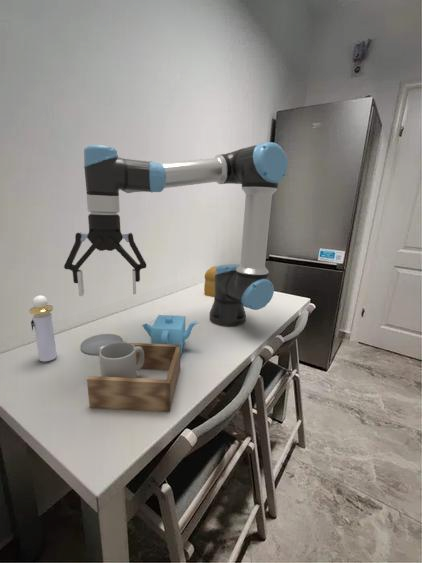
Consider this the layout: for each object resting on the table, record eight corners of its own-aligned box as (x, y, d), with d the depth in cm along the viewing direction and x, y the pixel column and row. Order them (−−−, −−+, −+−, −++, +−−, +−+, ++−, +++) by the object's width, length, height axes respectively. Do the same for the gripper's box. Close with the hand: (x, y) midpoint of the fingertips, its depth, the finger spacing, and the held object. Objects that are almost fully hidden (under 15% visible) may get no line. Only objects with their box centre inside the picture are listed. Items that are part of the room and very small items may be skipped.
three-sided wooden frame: (180, 368, 80) (180, 344, 78) (169, 411, 63) (169, 383, 61) (116, 365, 80) (115, 341, 78) (89, 407, 64) (86, 379, 62)
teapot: (149, 337, 98) (148, 307, 95) (200, 339, 98) (201, 309, 95) (136, 361, 83) (134, 327, 80) (196, 364, 82) (197, 329, 79)
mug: (115, 404, 65) (113, 363, 62) (95, 389, 70) (91, 350, 67) (154, 380, 74) (153, 343, 71) (134, 368, 79) (132, 333, 76)
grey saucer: (128, 336, 98) (128, 334, 97) (114, 356, 85) (114, 353, 85) (91, 335, 98) (91, 333, 98) (72, 354, 85) (72, 351, 85)
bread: (203, 295, 145) (204, 267, 141) (214, 289, 156) (215, 263, 152) (247, 304, 135) (250, 274, 131) (255, 296, 146) (258, 269, 142)
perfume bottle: (61, 353, 86) (54, 291, 80) (56, 363, 80) (47, 298, 75) (41, 355, 84) (31, 292, 79) (33, 365, 79) (23, 299, 74)
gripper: (153, 214, 76) (154, 288, 82) (53, 211, 70) (61, 291, 76) (155, 215, 69) (156, 296, 75) (44, 212, 63) (54, 300, 69)
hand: (108, 293), depth 75 cm, fingers open, 13 cm apart
